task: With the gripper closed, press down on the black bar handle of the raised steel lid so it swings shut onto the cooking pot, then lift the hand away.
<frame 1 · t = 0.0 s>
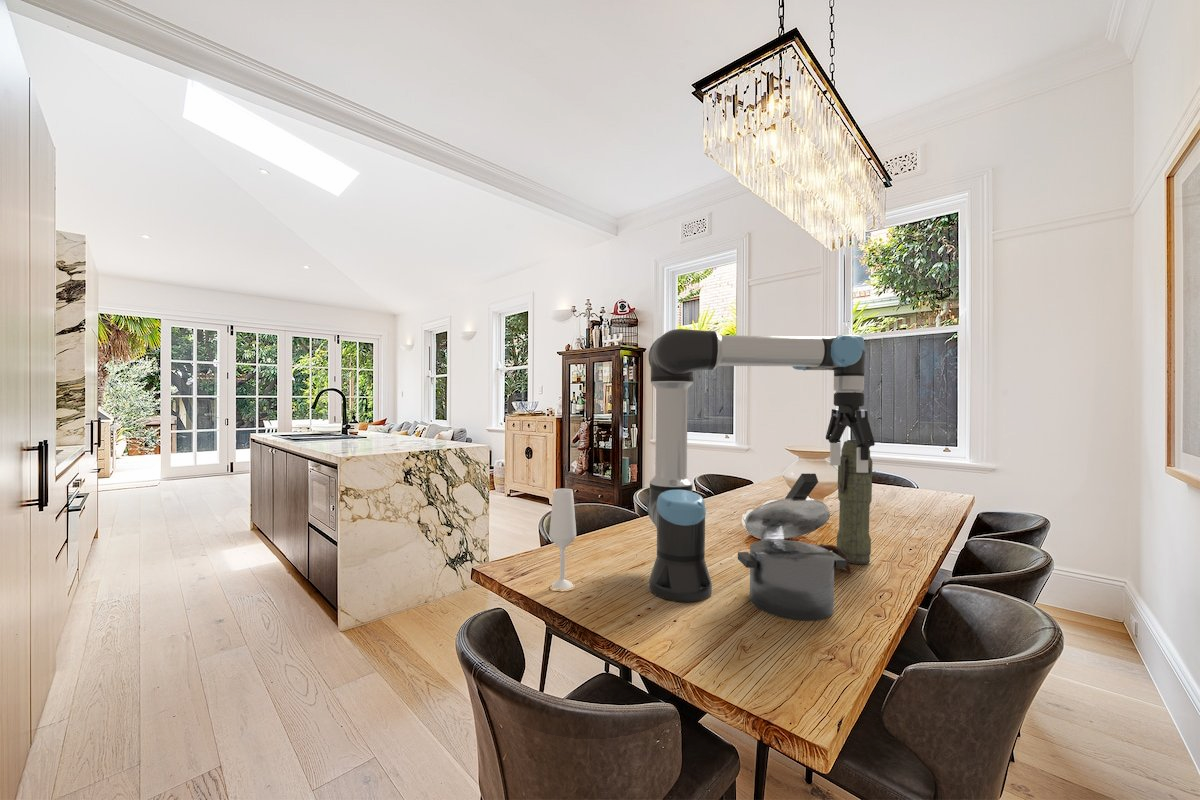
hand: (848, 468, 133), 28 cm above the table, tool pointing down, fingers open, 13 cm apart
pottery mug: (829, 571, 133), on the table
champagne flute: (562, 587, 119), on the table
lid: (790, 508, 112), point 22 cm above the table, hinge at 40.0°
thermos: (853, 559, 142), on the table, touching gripper
pot: (790, 602, 111), on the table
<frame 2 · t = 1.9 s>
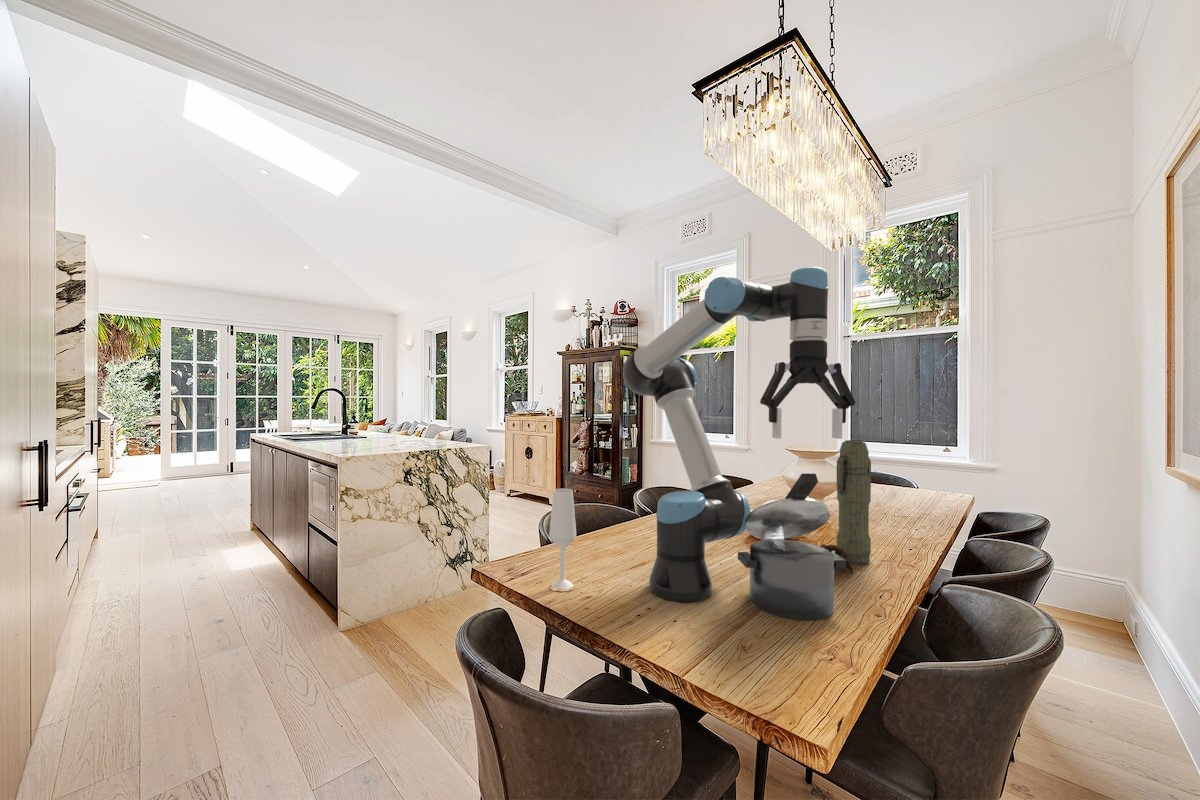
hand: (807, 438, 105), 38 cm above the table, tool pointing down, fingers open, 13 cm apart
thermos: (853, 560, 142), on the table
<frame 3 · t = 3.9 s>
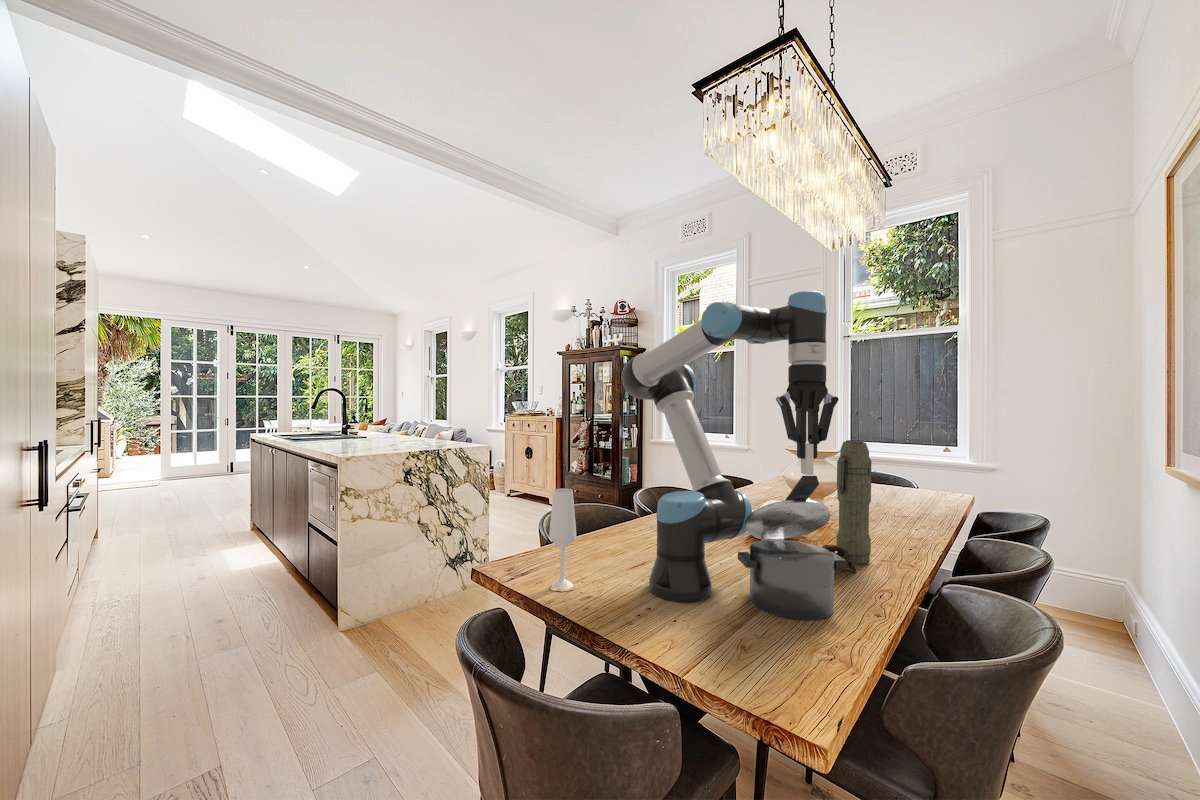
hand: (807, 473, 104), 31 cm above the table, tool pointing down, fingers closed
lid: (790, 509, 112), point 21 cm above the table, hinge at 38.7°, touching gripper
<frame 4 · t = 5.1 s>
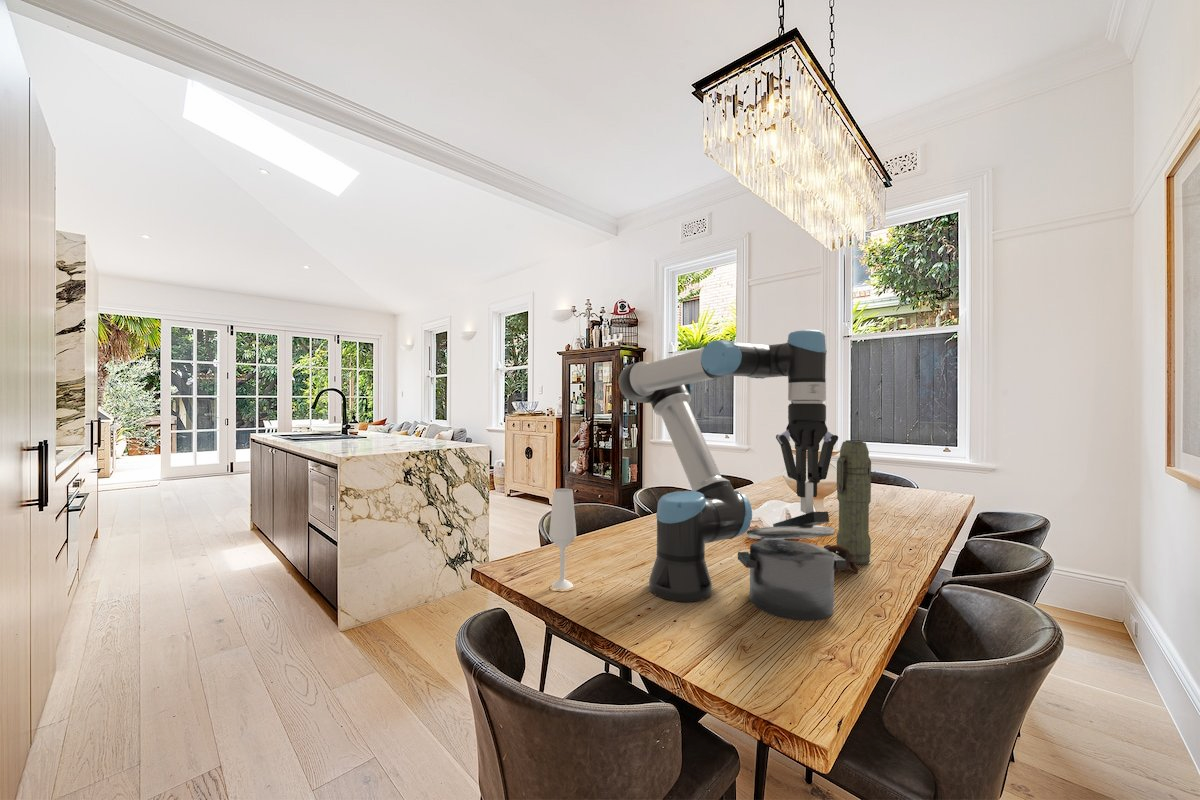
hand: (806, 512, 104), 23 cm above the table, tool pointing down, fingers closed
lid: (795, 526, 109), point 18 cm above the table, hinge at 20.9°, touching gripper
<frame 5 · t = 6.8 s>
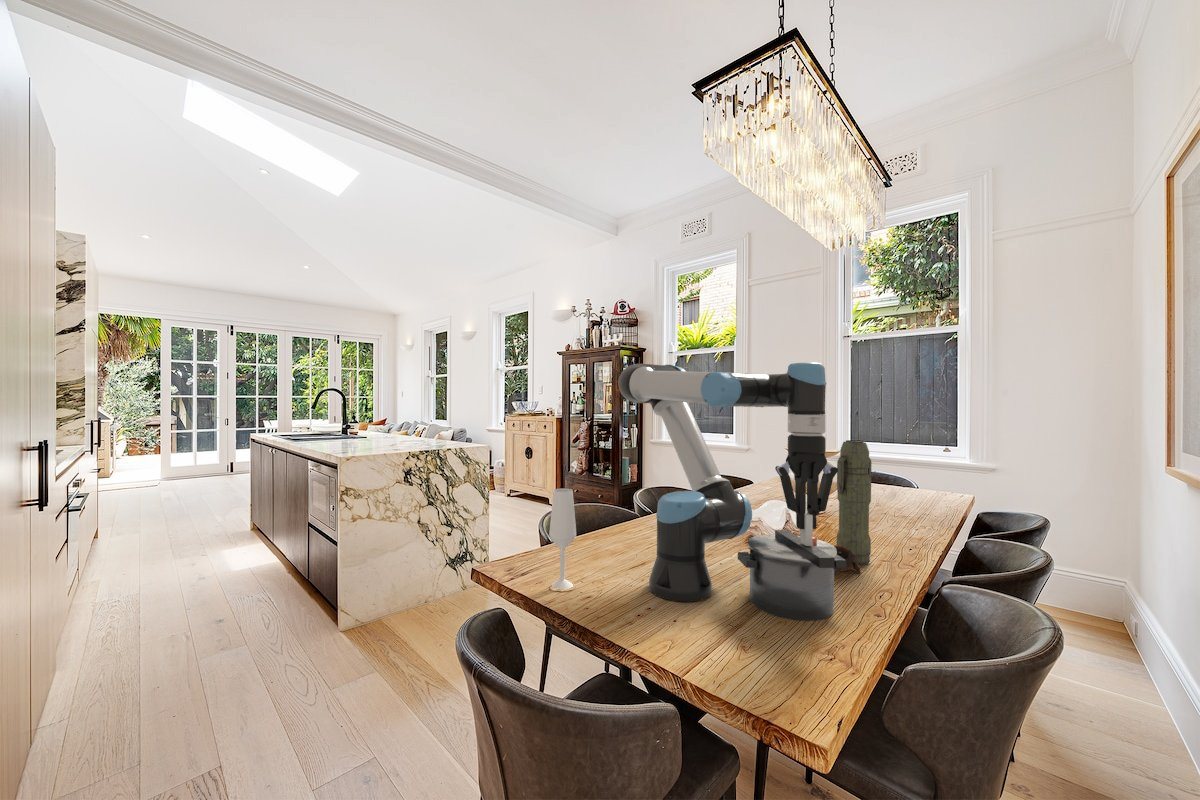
hand: (806, 543, 104), 16 cm above the table, tool pointing down, fingers closed
lid: (797, 547, 108), point 14 cm above the table, hinge at 1.4°, touching gripper
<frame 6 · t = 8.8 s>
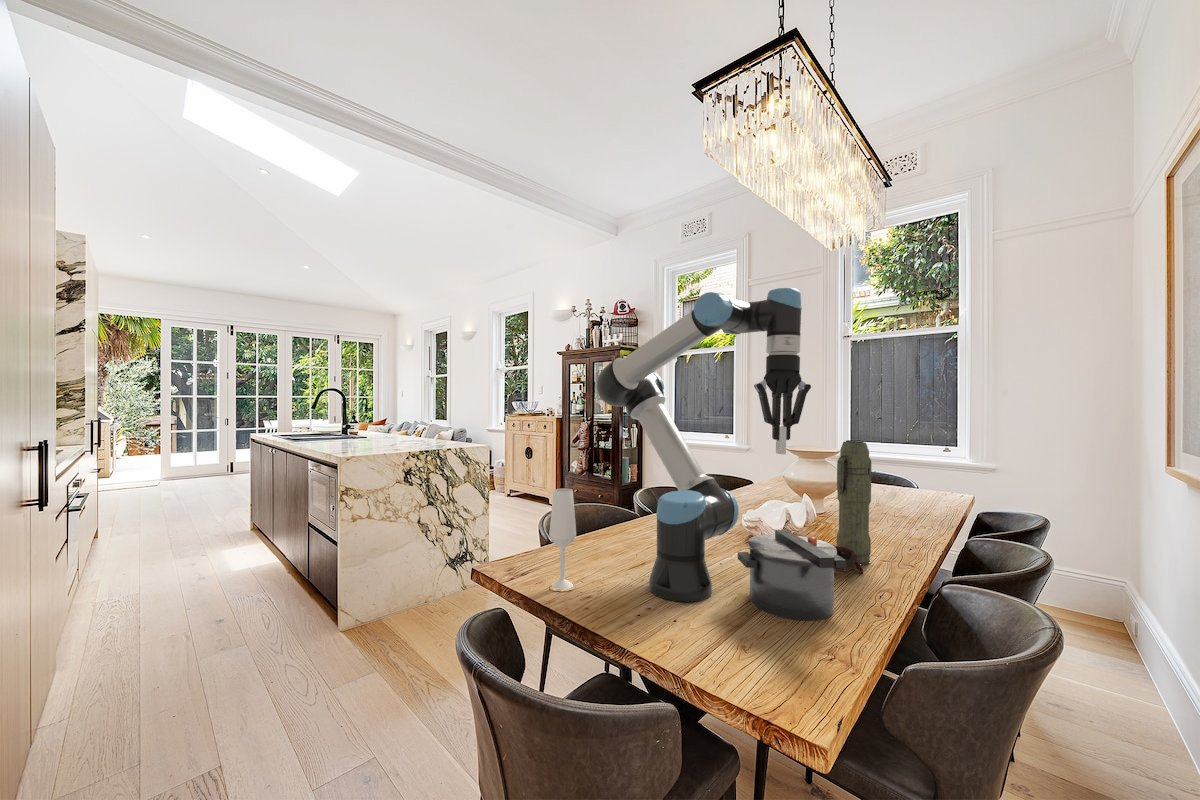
hand: (780, 453, 115), 34 cm above the table, tool pointing down, fingers closed
lid: (797, 547, 108), point 14 cm above the table, hinge at 1.4°
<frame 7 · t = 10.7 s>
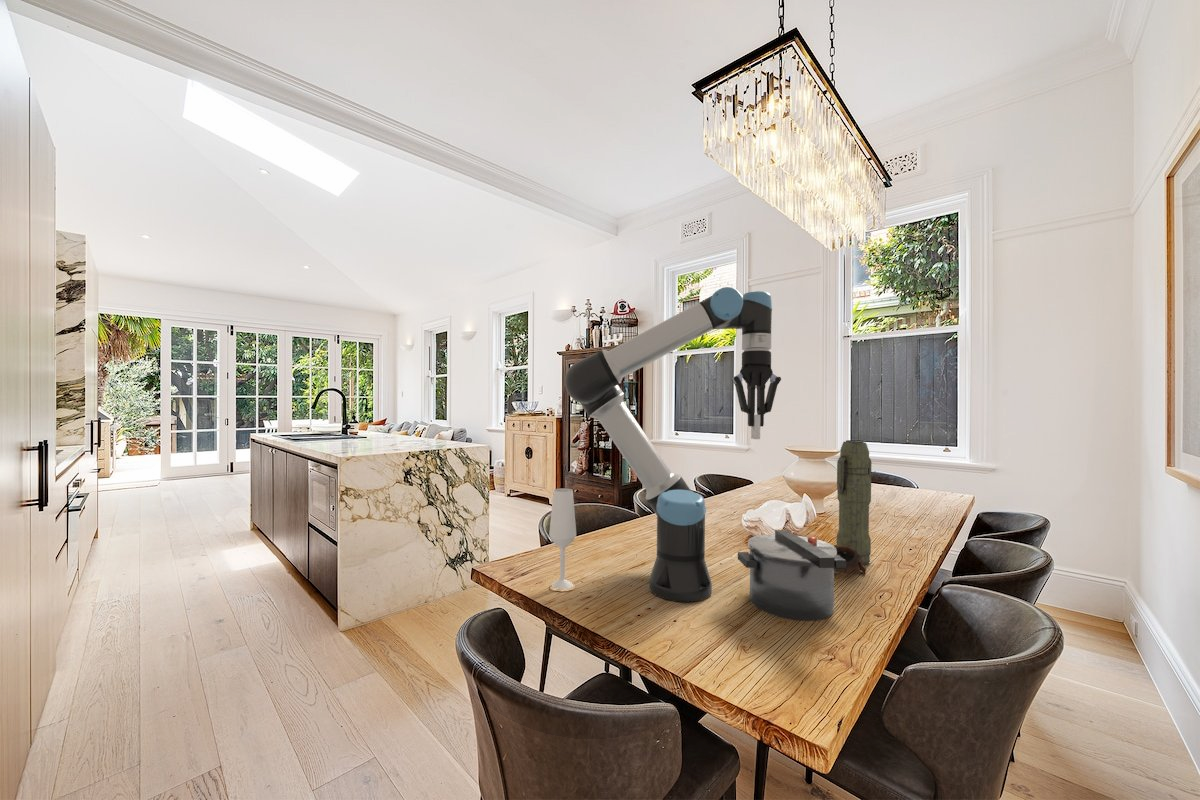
hand: (755, 438, 129), 36 cm above the table, tool pointing down, fingers closed
at the end: lid at +1° (first picture: +40°); the gripper is holding nothing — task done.
